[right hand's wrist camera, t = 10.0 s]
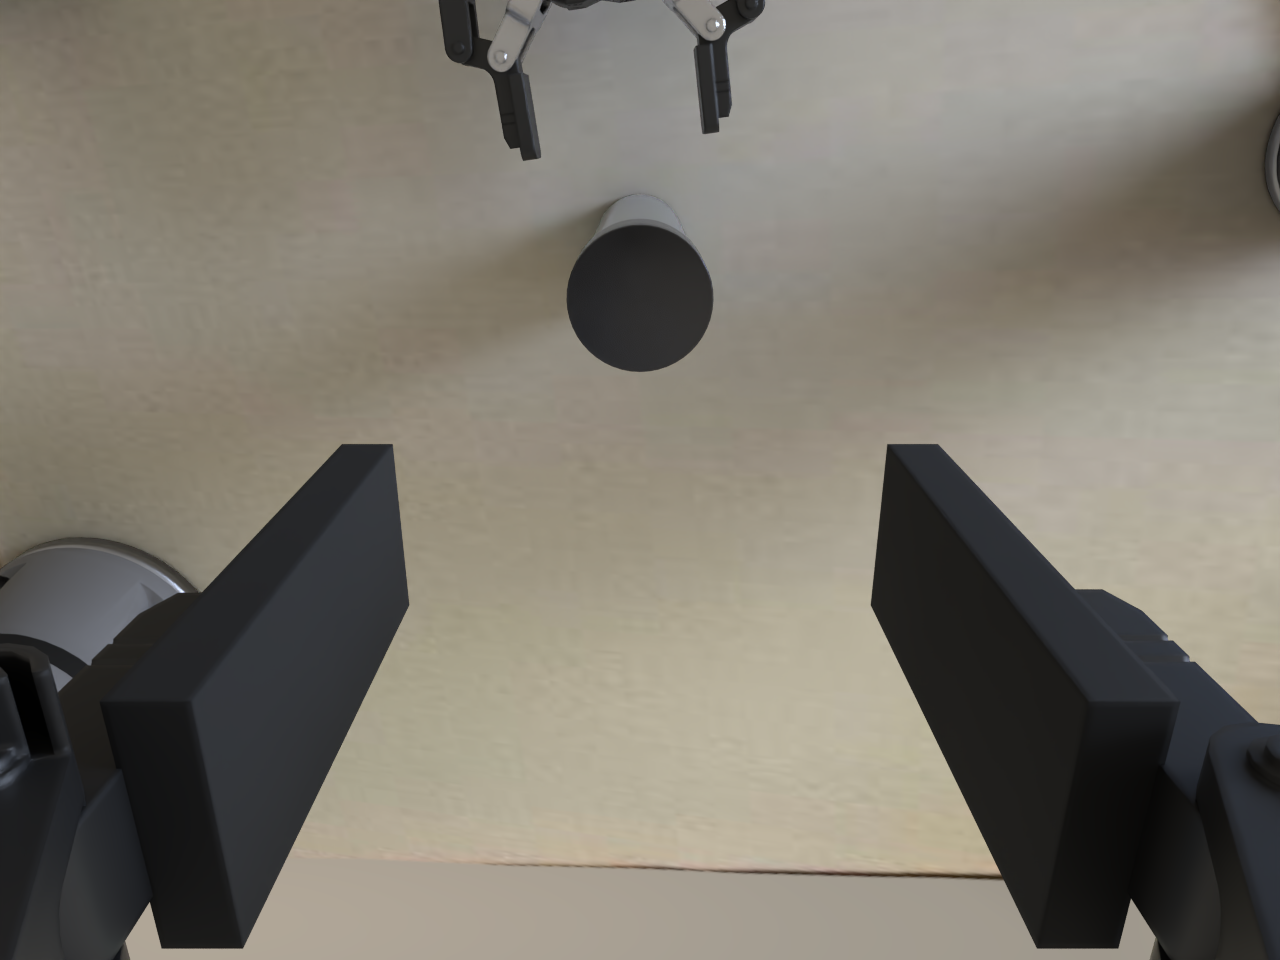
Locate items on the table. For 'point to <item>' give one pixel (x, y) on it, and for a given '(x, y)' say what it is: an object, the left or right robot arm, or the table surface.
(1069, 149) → the table surface
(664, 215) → the blue-grey bottle
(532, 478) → the table surface
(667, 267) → the lid
